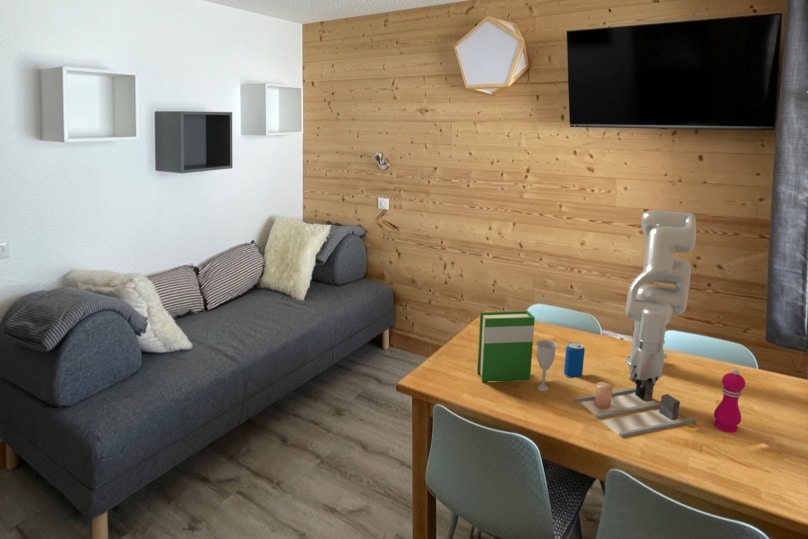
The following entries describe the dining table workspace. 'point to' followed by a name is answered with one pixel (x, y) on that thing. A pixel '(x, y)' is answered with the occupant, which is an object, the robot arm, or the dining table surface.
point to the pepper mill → (729, 403)
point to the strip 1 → (624, 400)
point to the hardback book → (505, 345)
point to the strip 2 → (647, 417)
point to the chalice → (545, 359)
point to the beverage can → (574, 360)
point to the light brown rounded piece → (603, 395)
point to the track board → (633, 409)
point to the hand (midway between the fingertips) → (643, 395)
